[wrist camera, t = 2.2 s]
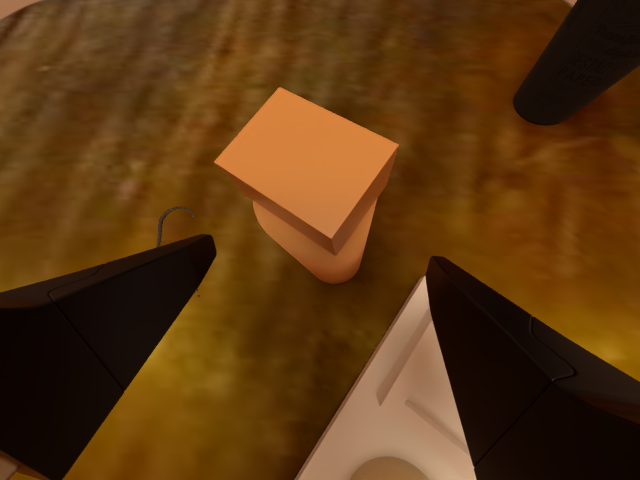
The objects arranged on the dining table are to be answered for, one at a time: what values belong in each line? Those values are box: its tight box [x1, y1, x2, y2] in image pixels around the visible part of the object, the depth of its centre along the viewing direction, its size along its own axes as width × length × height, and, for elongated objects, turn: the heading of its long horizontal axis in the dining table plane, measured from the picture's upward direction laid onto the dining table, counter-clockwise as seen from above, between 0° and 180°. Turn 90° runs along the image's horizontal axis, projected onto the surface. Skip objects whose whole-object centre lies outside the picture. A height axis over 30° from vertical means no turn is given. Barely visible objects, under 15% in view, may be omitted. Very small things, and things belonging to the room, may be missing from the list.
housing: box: [294, 276, 477, 480], centre depth 13 cm, size 18×11×5 cm, turn 144°
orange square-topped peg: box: [214, 87, 399, 284], centre depth 13 cm, size 4×4×14 cm
